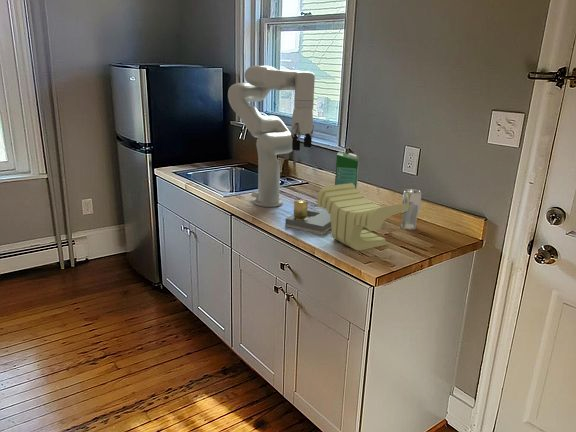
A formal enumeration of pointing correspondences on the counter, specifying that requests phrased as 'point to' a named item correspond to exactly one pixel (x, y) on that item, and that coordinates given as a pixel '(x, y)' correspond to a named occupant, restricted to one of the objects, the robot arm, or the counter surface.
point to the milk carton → (347, 169)
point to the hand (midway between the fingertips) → (301, 148)
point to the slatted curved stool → (355, 215)
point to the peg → (300, 209)
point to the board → (311, 222)
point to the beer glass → (411, 208)
